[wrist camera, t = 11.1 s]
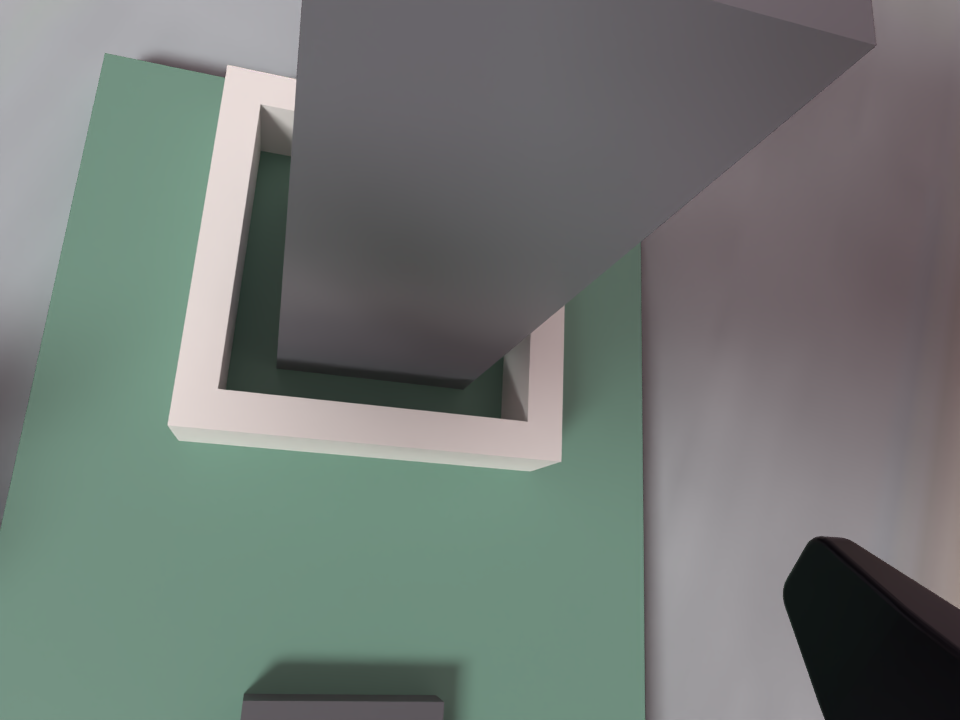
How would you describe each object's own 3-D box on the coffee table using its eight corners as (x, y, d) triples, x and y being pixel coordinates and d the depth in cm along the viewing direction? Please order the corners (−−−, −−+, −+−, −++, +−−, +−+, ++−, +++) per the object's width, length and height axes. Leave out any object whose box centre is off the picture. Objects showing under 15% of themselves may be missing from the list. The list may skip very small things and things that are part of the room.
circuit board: (626, 1032, 16) (700, 1130, 14) (-110, 1118, 13) (-214, 1274, 10) (624, 179, 22) (676, 125, 19) (113, 78, 19) (85, -7, 16)
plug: (463, 389, 18) (876, 44, 6) (276, 368, 17) (310, -109, 5) (473, 209, 19) (829, -377, 7) (300, 179, 18) (374, -575, 6)
